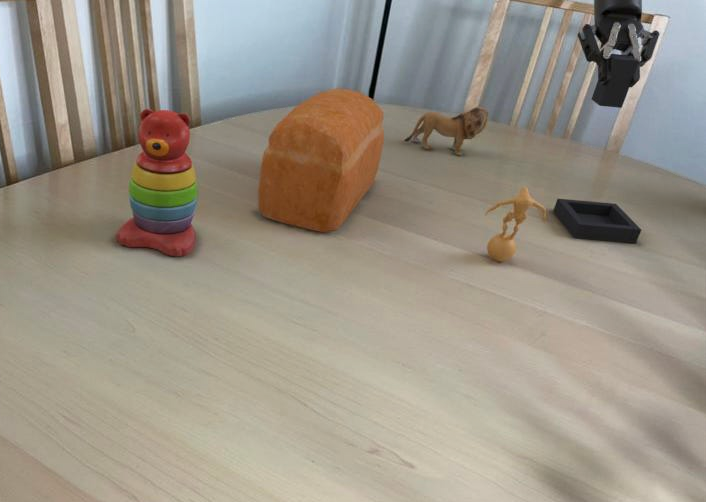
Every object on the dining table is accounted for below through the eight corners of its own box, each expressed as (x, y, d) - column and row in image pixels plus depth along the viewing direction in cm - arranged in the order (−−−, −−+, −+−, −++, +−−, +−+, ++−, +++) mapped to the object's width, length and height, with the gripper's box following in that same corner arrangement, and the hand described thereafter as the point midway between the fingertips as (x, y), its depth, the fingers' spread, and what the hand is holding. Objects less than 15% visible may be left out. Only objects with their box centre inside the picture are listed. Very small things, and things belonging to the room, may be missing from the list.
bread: (379, 181, 130) (398, 89, 121) (336, 238, 110) (354, 134, 101) (305, 163, 134) (318, 74, 125) (250, 216, 114) (260, 113, 105)
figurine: (523, 256, 110) (549, 180, 103) (532, 276, 105) (561, 197, 98) (467, 250, 111) (489, 173, 104) (473, 269, 106) (498, 190, 99)
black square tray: (610, 216, 126) (616, 203, 125) (635, 243, 118) (641, 229, 116) (552, 211, 126) (557, 198, 124) (573, 238, 117) (579, 224, 116)
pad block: (612, 101, 135) (629, 55, 130) (621, 107, 132) (639, 61, 127) (591, 99, 135) (607, 53, 130) (599, 105, 131) (616, 58, 127)
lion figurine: (477, 149, 149) (489, 104, 144) (479, 159, 144) (492, 112, 139) (403, 139, 150) (413, 94, 145) (403, 147, 146) (413, 101, 141)
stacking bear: (111, 244, 103) (110, 115, 92) (138, 215, 111) (140, 95, 101) (185, 259, 101) (192, 130, 91) (207, 229, 109) (216, 108, 99)
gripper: (588, -22, 129) (589, 68, 125) (669, -15, 129) (672, 76, 126) (567, 5, 136) (568, 91, 133) (644, 12, 136) (646, 98, 133)
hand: (619, 83), depth 129 cm, fingers closed on pad block, 4 cm apart
